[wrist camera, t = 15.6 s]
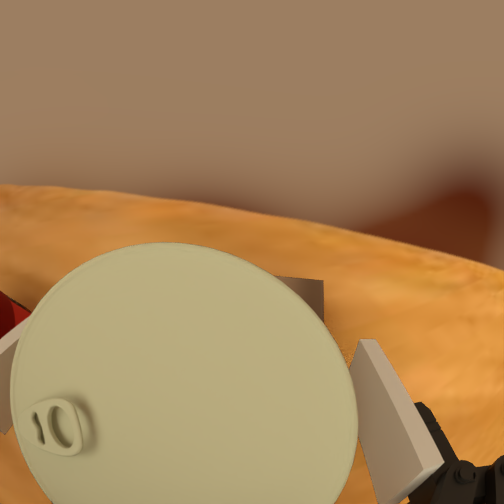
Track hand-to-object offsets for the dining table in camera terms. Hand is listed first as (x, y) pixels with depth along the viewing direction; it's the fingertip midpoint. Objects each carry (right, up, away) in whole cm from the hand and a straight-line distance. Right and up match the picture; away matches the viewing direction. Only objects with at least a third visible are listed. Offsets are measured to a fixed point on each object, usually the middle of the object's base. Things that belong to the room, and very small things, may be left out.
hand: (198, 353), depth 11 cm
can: (-1, -5, +4) cm, 7 cm away
